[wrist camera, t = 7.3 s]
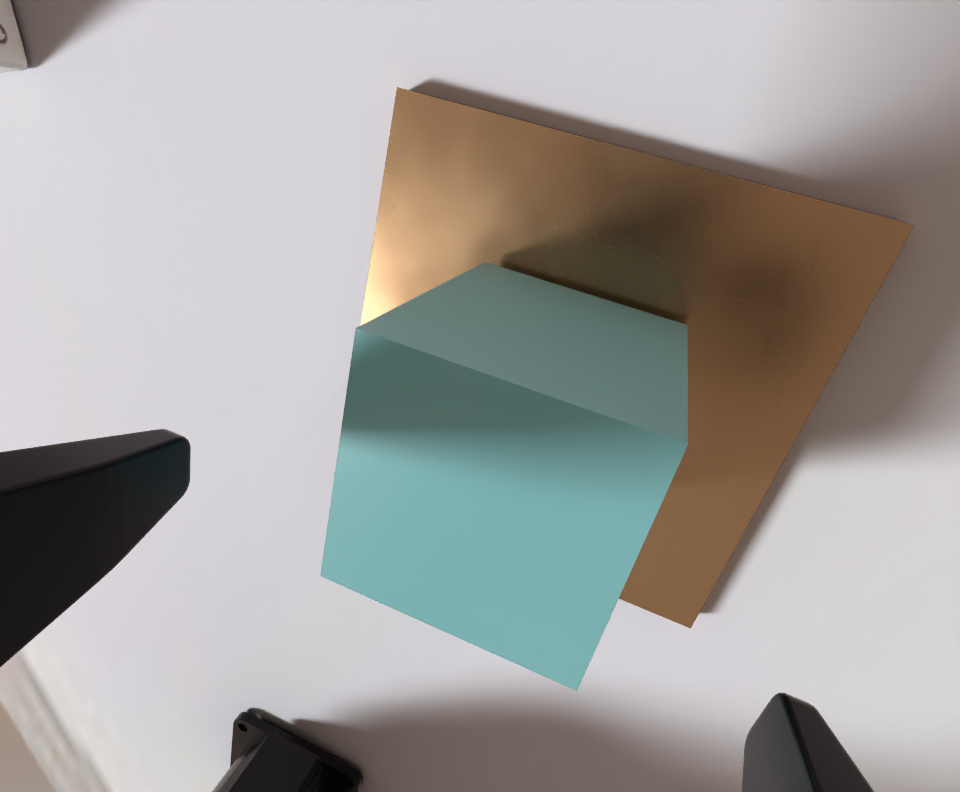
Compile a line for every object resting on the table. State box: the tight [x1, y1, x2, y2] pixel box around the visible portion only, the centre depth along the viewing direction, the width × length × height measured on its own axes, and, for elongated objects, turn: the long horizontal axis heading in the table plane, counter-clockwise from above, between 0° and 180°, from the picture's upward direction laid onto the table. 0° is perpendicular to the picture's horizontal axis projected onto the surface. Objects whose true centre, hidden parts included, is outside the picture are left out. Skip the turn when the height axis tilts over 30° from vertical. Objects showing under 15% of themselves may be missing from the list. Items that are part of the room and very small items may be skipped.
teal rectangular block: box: [321, 262, 688, 691], centre depth 13 cm, size 5×5×7 cm
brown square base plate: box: [361, 87, 914, 628], centre depth 13 cm, size 12×12×7 cm
